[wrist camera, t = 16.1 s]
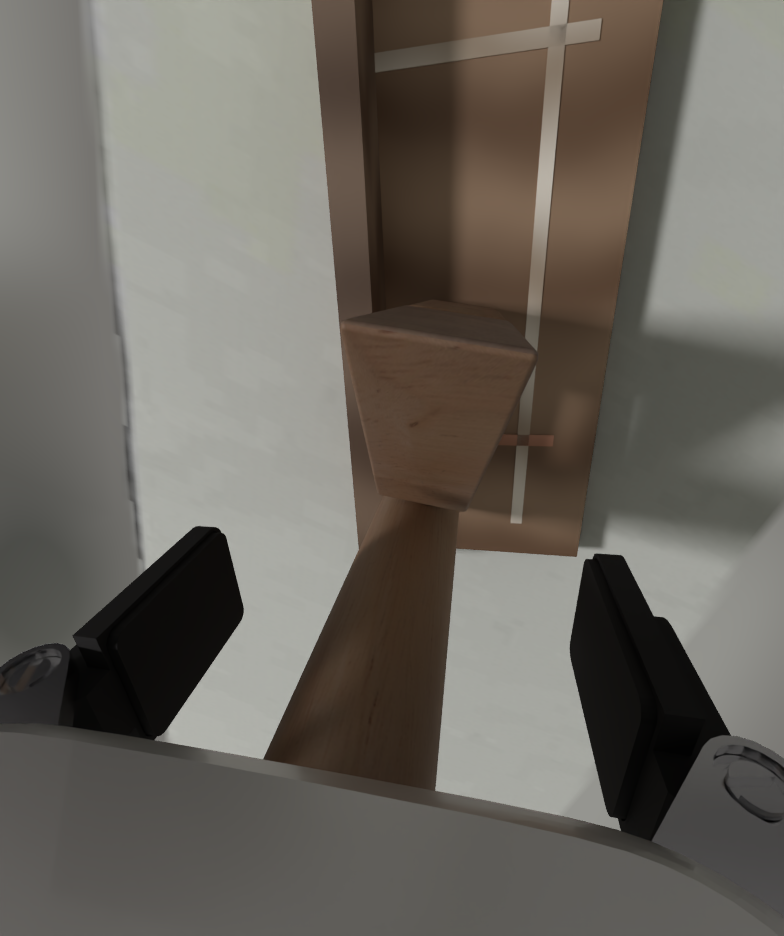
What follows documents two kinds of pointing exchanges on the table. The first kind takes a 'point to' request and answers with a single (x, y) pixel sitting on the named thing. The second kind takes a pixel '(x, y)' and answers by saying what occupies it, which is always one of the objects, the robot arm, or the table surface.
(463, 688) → the table surface
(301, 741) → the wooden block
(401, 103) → the marking board
